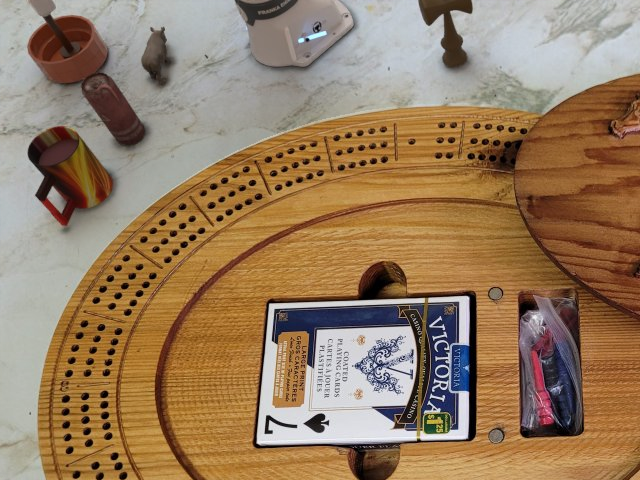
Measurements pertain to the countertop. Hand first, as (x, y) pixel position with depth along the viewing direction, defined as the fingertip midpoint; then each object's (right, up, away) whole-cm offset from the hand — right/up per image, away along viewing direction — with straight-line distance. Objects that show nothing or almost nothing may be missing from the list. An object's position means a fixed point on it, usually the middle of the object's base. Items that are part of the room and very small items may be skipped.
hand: (43, 9), depth 164 cm
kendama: (+82, -9, +4) cm, 83 cm away
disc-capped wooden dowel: (+1, -5, +11) cm, 12 cm away
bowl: (0, -5, +13) cm, 14 cm away
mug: (+11, -39, -4) cm, 40 cm away
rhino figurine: (+20, -6, +11) cm, 23 cm away
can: (+17, -25, +2) cm, 30 cm away
